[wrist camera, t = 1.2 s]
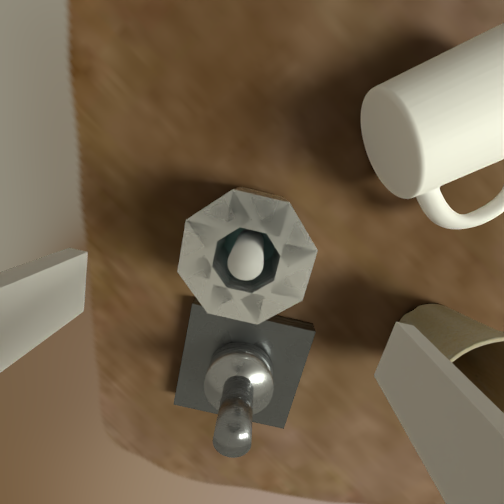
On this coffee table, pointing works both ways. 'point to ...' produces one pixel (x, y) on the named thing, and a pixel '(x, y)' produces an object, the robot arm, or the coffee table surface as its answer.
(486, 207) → the mug
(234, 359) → the hub
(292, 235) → the collar
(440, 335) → the flower pot
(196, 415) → the coffee table surface
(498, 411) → the robot arm
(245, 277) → the stand
